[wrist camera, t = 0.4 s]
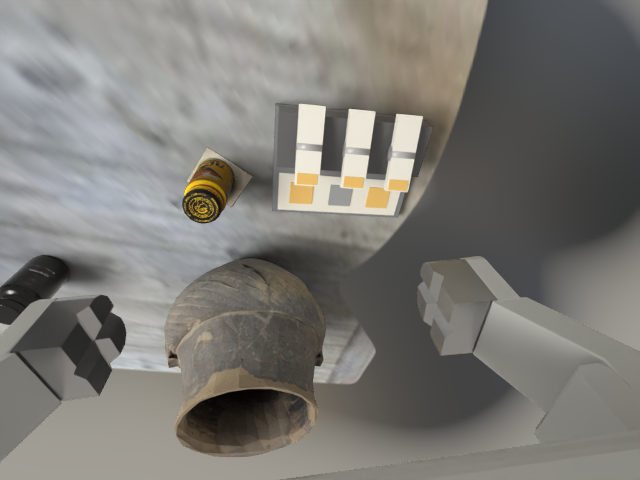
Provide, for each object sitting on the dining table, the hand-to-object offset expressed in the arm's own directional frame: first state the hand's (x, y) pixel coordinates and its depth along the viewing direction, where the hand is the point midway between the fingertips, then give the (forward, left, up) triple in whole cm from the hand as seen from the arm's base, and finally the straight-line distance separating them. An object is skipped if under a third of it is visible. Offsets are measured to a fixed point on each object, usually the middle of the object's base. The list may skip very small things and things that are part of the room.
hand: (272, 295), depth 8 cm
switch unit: (+13, +11, -46) cm, 49 cm away
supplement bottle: (+38, -42, -46) cm, 73 cm away
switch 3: (+8, +18, -40) cm, 45 cm away
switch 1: (+8, +5, -40) cm, 41 cm away
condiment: (+17, -9, -46) cm, 50 cm away
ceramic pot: (+41, -4, -46) cm, 62 cm away
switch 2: (+8, +12, -40) cm, 42 cm away
